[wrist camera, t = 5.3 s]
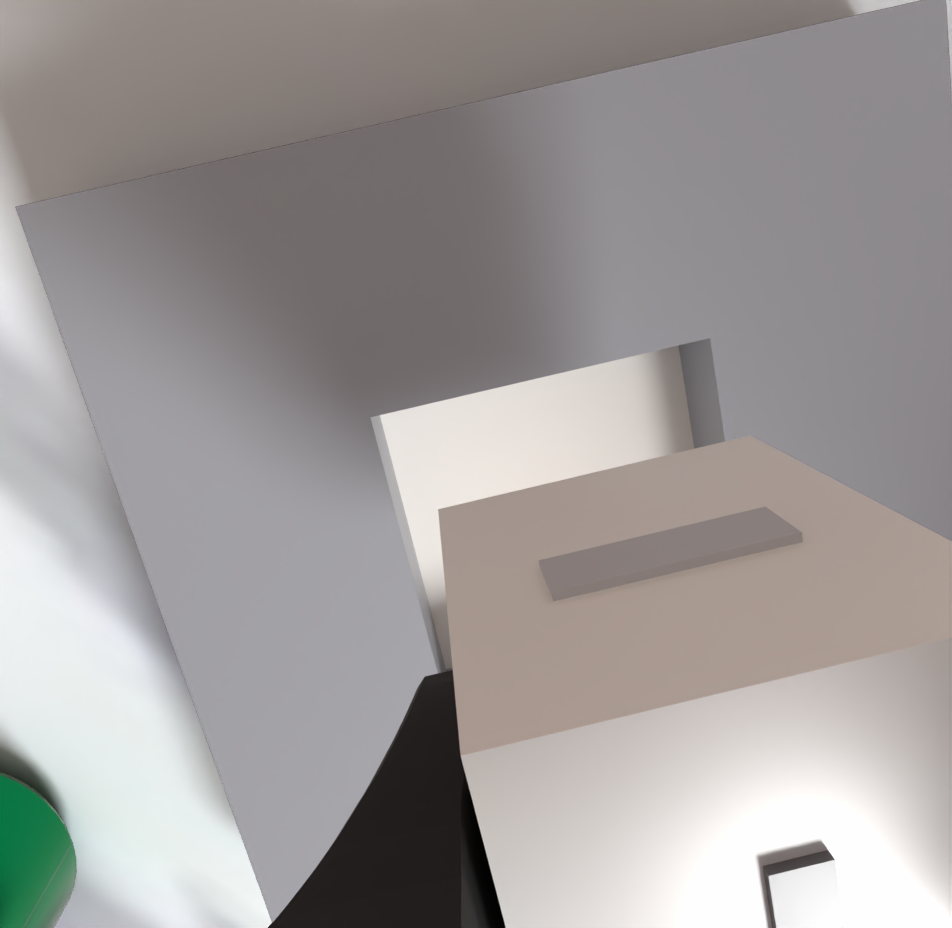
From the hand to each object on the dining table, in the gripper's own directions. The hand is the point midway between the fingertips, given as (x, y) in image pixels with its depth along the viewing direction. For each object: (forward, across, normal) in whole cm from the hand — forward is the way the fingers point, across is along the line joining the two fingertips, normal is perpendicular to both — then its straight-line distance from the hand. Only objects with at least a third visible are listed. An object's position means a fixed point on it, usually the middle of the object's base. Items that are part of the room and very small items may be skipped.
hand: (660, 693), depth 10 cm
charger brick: (+2, 0, 0) cm, 2 cm away
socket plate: (+8, 0, 0) cm, 8 cm away
